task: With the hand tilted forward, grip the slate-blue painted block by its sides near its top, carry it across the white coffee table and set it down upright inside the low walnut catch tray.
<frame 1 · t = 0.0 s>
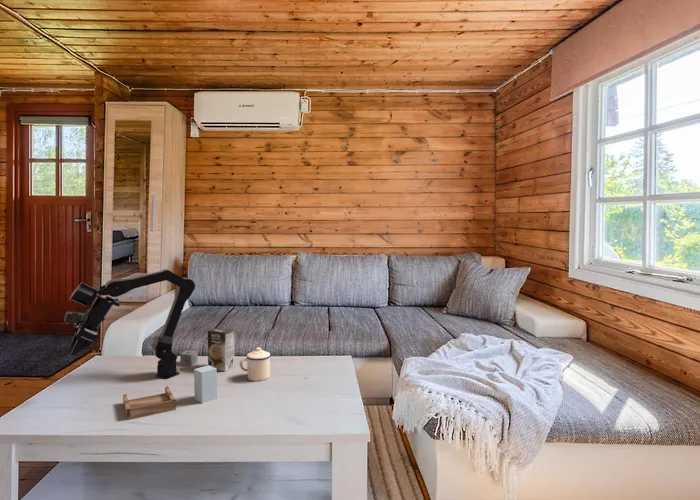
hand: (71, 351, 151), 15 cm above the table, tool tilted 35°, fingers open, 9 cm apart
dice cube: (189, 364, 184), on the table
coffee box: (221, 368, 178), on the table
catch tray: (149, 406, 141), on the table
teacup with lid: (255, 377, 168), on the table
tall block: (205, 398, 148), on the table
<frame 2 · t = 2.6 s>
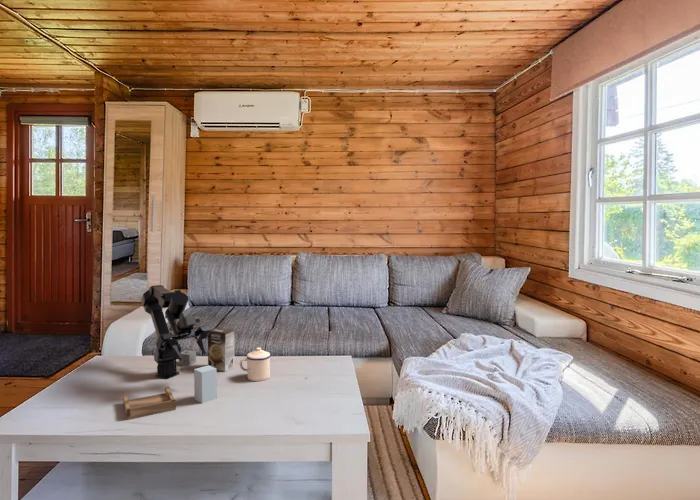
hand: (193, 356, 152), 13 cm above the table, tool tilted 45°, fingers open, 9 cm apart
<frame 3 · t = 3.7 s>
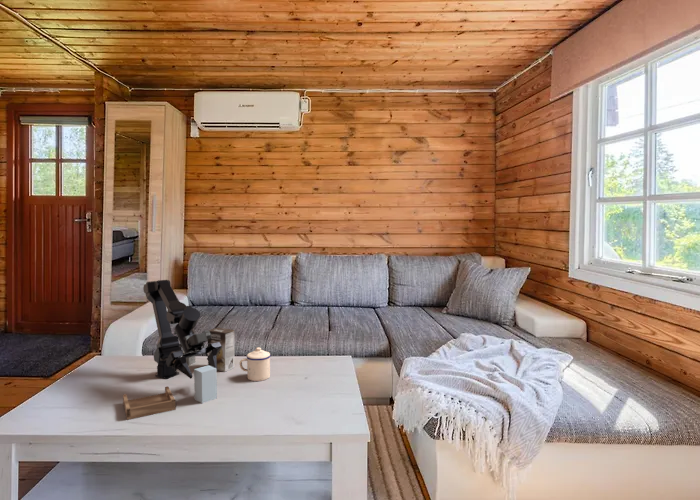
hand: (204, 374, 148), 8 cm above the table, tool tilted 45°, fingers open, 9 cm apart
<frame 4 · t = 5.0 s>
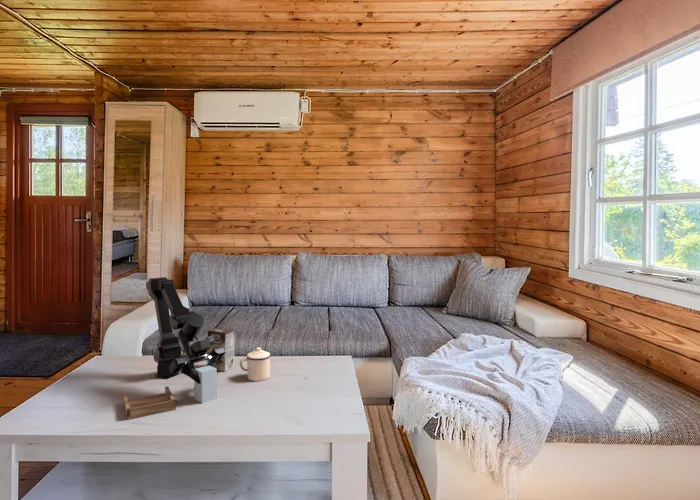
hand: (207, 380, 146), 7 cm above the table, tool tilted 45°, fingers closed on tall block, 5 cm apart
tall block: (205, 398, 148), on the table, touching gripper
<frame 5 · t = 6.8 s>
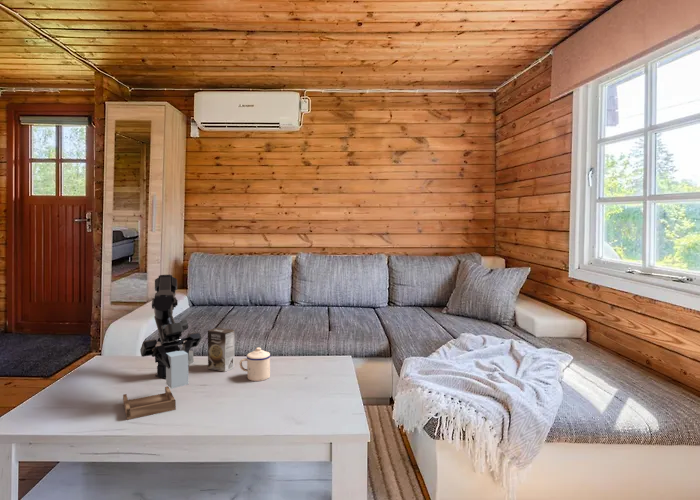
hand: (178, 365, 141), 13 cm above the table, tool tilted 45°, fingers closed on tall block, 5 cm apart
tall block: (177, 384, 143), point 7 cm above the table, touching gripper
when the fingers open (9 cm above the table, at t = 8.8 s): tall block drops 2 cm, resting on catch tray.
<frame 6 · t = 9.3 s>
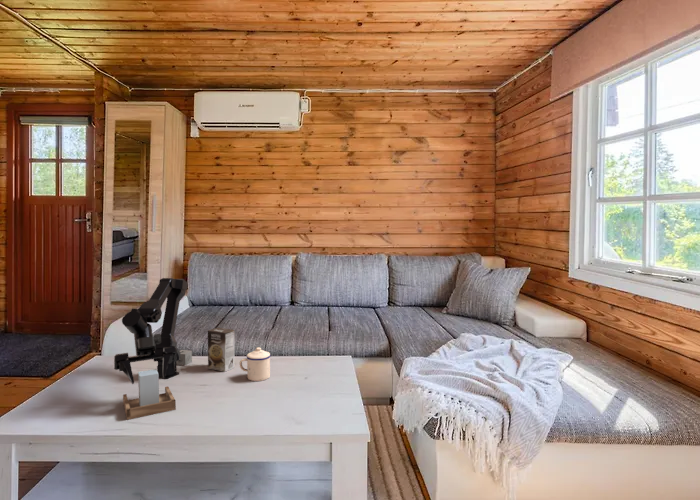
hand: (148, 380, 140), 9 cm above the table, tool tilted 45°, fingers open, 9 cm apart
tall block: (149, 404, 141), point 1 cm above the table, touching catch tray
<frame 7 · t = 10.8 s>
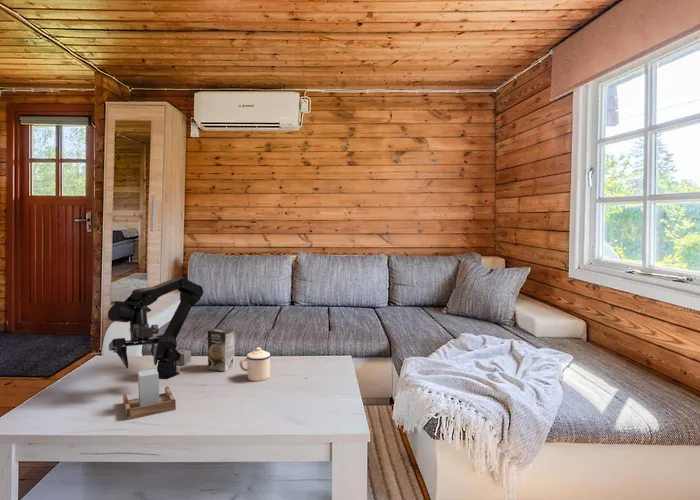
hand: (141, 366, 150), 10 cm above the table, tool tilted 30°, fingers open, 9 cm apart
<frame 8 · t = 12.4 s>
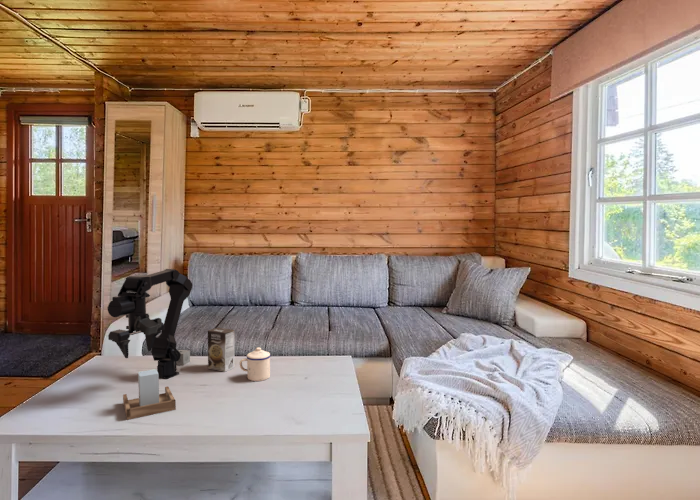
hand: (138, 354, 154), 13 cm above the table, tool pointing down, fingers open, 9 cm apart
at the end: tall block inside the target area on the catch tray (0.1 cm from its centre), point 0.8 cm above the catch tray's base; tall block tilted 0°; the gripper is holding nothing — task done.
